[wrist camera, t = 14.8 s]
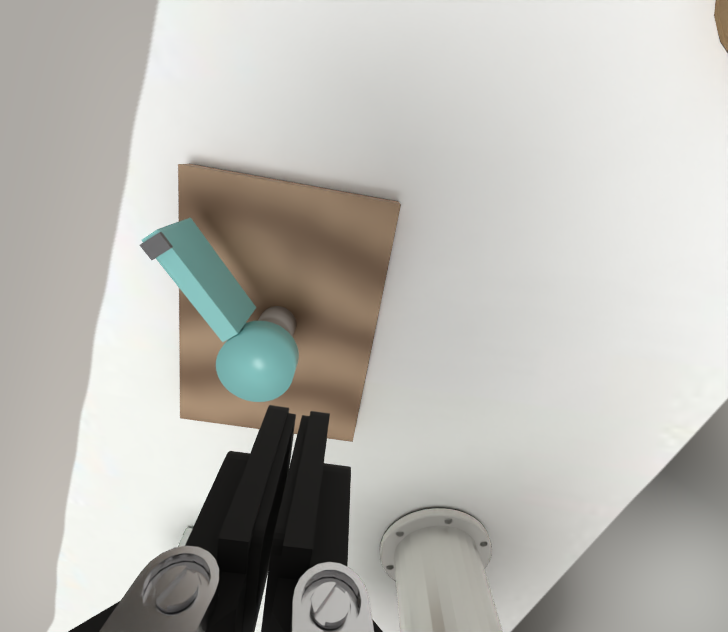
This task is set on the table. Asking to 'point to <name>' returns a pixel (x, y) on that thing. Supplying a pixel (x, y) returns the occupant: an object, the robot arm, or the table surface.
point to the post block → (288, 289)
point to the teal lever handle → (226, 314)
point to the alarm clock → (722, 21)
